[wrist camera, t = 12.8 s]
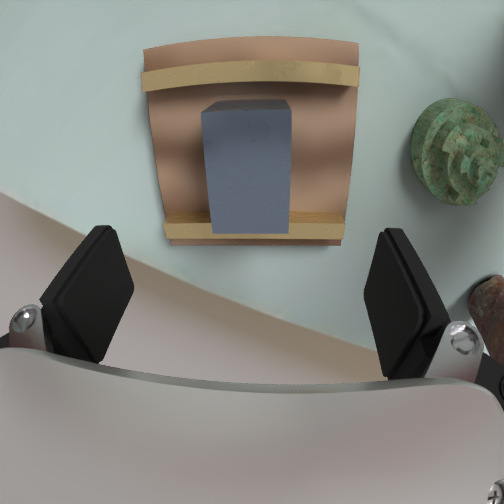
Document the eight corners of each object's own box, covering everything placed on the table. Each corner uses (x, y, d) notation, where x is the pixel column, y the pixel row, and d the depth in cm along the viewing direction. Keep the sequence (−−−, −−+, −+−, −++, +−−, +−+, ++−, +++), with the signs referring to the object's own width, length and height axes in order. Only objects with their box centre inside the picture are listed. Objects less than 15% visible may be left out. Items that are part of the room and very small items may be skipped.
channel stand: (152, 50, 19) (132, 49, 15) (351, 44, 18) (367, 41, 15) (176, 233, 29) (165, 257, 26) (336, 234, 28) (344, 258, 25)
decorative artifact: (488, 181, 23) (480, 93, 18) (525, 213, 18) (527, 109, 12) (416, 203, 26) (399, 107, 21) (448, 243, 20) (439, 125, 15)
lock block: (217, 100, 20) (200, 112, 15) (285, 99, 19) (291, 110, 15) (224, 195, 24) (212, 233, 19) (284, 195, 24) (288, 233, 19)
